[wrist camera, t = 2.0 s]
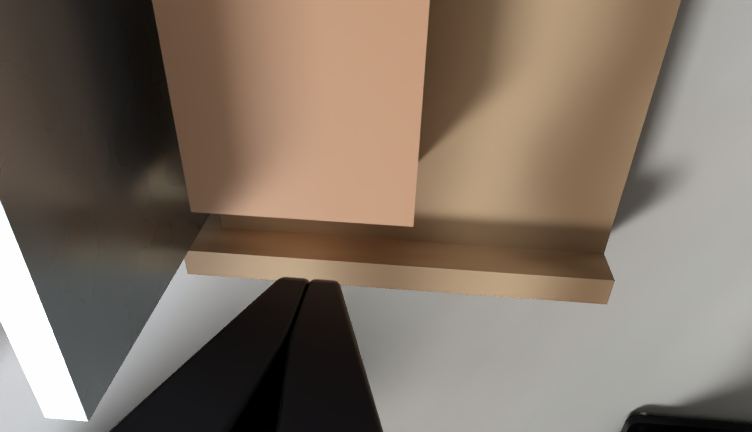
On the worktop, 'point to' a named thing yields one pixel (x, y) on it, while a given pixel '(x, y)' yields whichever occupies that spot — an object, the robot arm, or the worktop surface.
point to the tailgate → (85, 191)
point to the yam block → (297, 105)
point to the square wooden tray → (491, 160)
